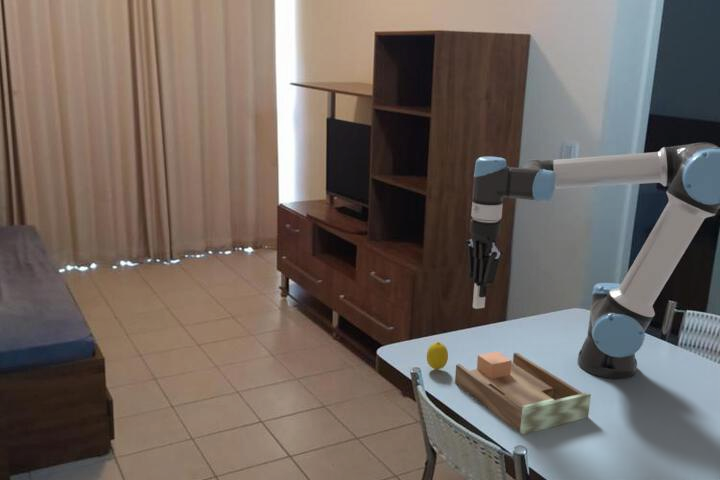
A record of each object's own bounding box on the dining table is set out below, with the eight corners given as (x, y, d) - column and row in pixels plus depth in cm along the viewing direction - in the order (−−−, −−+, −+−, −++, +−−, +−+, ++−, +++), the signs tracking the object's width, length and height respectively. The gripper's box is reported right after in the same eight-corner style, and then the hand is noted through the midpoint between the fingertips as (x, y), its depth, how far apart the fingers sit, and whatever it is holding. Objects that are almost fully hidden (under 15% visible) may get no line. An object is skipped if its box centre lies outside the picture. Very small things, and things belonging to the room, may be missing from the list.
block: (495, 365, 184) (497, 351, 183) (510, 374, 179) (511, 360, 178) (476, 369, 182) (477, 354, 181) (490, 379, 176) (492, 364, 175)
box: (515, 369, 188) (517, 349, 186) (588, 417, 164) (591, 393, 163) (454, 382, 180) (456, 361, 178) (522, 434, 156) (525, 410, 155)
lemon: (446, 376, 183) (448, 347, 181) (424, 373, 184) (426, 345, 182) (447, 367, 188) (449, 339, 186) (427, 364, 189) (428, 336, 187)
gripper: (458, 214, 181) (452, 300, 187) (489, 226, 170) (481, 318, 176) (482, 212, 184) (475, 297, 191) (514, 223, 173) (505, 314, 179)
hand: (478, 307), depth 183 cm, fingers closed
